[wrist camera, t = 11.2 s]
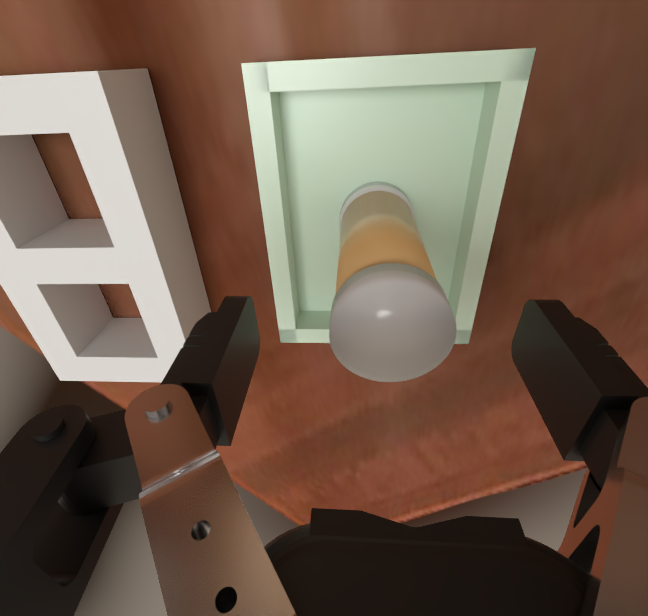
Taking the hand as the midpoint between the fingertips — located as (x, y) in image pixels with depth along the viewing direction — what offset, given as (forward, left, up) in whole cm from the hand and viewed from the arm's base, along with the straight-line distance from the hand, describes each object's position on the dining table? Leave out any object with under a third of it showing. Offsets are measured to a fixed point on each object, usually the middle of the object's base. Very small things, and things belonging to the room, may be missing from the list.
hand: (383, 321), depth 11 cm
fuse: (0, 0, -10) cm, 10 cm away
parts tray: (0, 0, -10) cm, 10 cm away
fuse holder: (+1, -15, -10) cm, 18 cm away
